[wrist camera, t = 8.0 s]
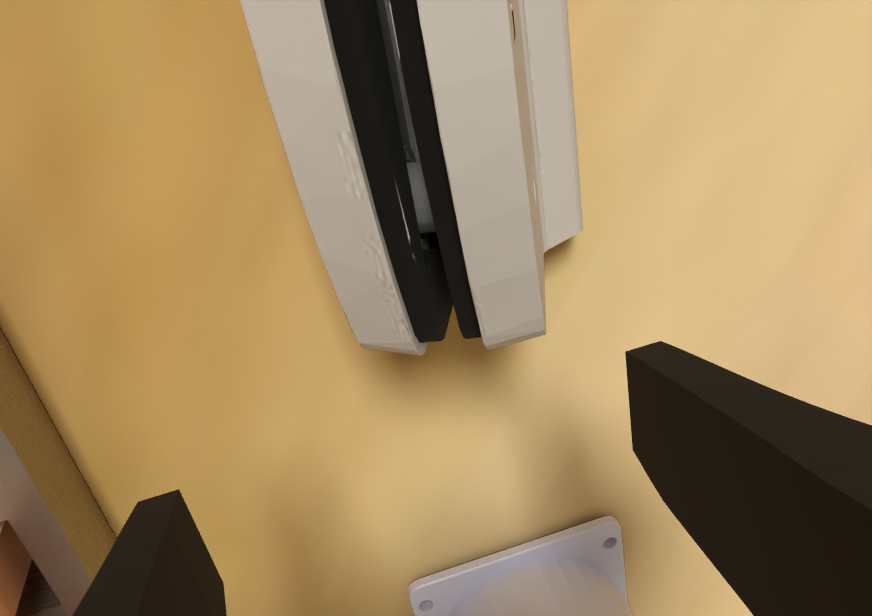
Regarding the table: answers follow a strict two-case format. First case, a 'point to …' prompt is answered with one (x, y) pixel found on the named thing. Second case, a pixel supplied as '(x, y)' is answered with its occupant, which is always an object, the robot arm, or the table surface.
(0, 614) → the clip
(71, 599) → the rail
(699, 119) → the table surface
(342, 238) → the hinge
